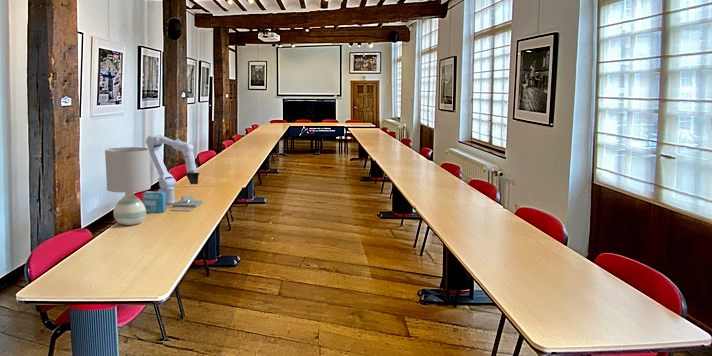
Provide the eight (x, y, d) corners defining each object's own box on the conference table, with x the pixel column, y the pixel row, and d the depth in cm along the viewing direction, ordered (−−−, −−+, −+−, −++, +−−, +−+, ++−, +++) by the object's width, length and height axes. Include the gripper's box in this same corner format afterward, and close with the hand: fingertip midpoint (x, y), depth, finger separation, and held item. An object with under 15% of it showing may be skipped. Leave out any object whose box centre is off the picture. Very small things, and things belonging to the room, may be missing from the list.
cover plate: (172, 207, 334) (172, 204, 334) (180, 202, 348) (180, 199, 348) (195, 208, 334) (195, 205, 334) (202, 203, 348) (202, 200, 348)
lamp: (99, 225, 288) (95, 150, 281) (129, 217, 308) (126, 146, 301) (131, 230, 280) (128, 152, 274) (160, 221, 300) (158, 148, 294)
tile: (170, 210, 325) (170, 209, 325) (175, 207, 333) (175, 207, 333) (190, 211, 325) (190, 210, 325) (194, 208, 333) (194, 207, 333)
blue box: (143, 212, 320) (142, 192, 318) (146, 210, 324) (145, 191, 322) (163, 213, 319) (162, 193, 317) (166, 211, 324) (165, 191, 322)
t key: (183, 206, 338) (183, 197, 337) (181, 205, 340) (181, 196, 339) (194, 205, 343) (193, 195, 342) (192, 204, 344) (191, 195, 343)
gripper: (200, 161, 334) (204, 183, 335) (193, 162, 346) (197, 183, 347) (188, 163, 330) (192, 185, 331) (182, 164, 342) (186, 185, 344)
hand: (194, 184), depth 339 cm, fingers open, 7 cm apart
